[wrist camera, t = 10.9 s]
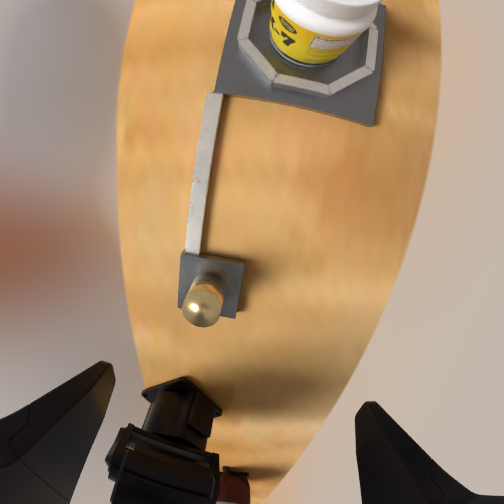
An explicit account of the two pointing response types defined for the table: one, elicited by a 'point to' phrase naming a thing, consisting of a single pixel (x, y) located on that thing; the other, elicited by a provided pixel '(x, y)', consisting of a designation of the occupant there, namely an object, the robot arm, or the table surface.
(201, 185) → the grey handled tray
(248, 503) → the mate gourd
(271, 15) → the supplement bottle
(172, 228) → the table surface
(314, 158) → the table surface
